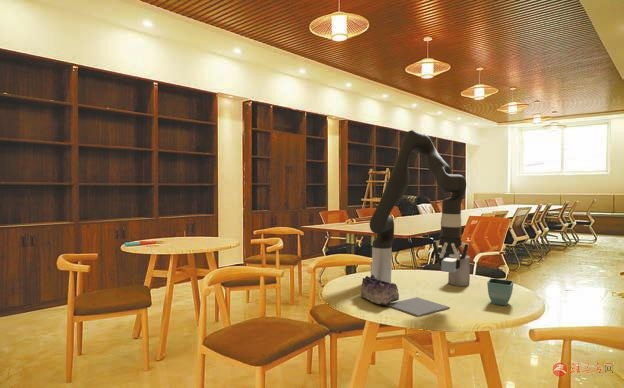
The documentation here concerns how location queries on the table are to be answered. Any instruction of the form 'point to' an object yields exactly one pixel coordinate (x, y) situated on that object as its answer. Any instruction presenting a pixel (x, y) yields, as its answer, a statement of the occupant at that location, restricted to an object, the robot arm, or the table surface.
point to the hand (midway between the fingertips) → (449, 268)
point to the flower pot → (500, 291)
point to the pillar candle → (460, 273)
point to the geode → (379, 291)
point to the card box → (448, 265)
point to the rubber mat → (418, 306)
